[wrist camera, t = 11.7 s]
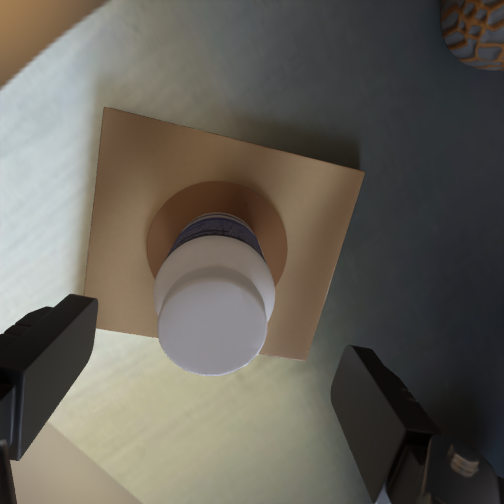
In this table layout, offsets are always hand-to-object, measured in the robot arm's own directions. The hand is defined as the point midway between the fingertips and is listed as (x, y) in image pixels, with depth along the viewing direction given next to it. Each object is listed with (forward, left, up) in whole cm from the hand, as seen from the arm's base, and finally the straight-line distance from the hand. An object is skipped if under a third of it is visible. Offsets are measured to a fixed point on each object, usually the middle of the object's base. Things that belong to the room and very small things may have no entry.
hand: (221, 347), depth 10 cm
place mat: (0, 0, -12) cm, 12 cm away
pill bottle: (0, 0, -11) cm, 11 cm away
